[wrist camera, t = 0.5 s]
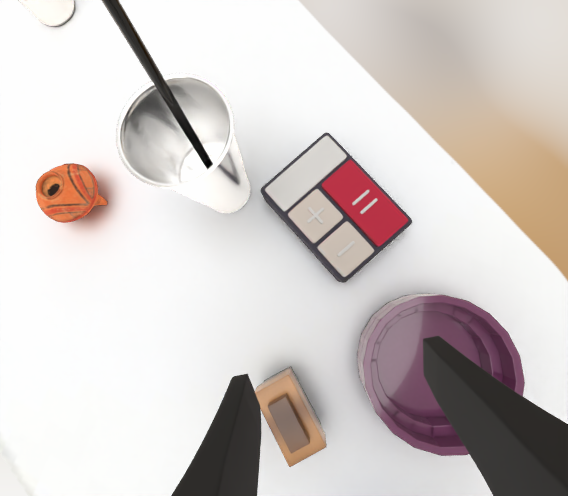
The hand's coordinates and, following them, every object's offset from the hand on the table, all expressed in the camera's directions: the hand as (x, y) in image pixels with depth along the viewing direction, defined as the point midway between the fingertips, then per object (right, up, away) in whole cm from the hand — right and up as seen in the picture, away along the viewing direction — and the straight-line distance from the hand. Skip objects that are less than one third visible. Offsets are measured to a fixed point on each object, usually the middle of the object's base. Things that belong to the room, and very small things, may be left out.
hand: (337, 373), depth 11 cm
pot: (-30, +12, +29) cm, 43 cm away
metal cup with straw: (-10, +14, +27) cm, 32 cm away
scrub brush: (-1, -13, +22) cm, 26 cm away
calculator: (+4, +10, +25) cm, 27 cm away
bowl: (+14, -8, +22) cm, 27 cm away
